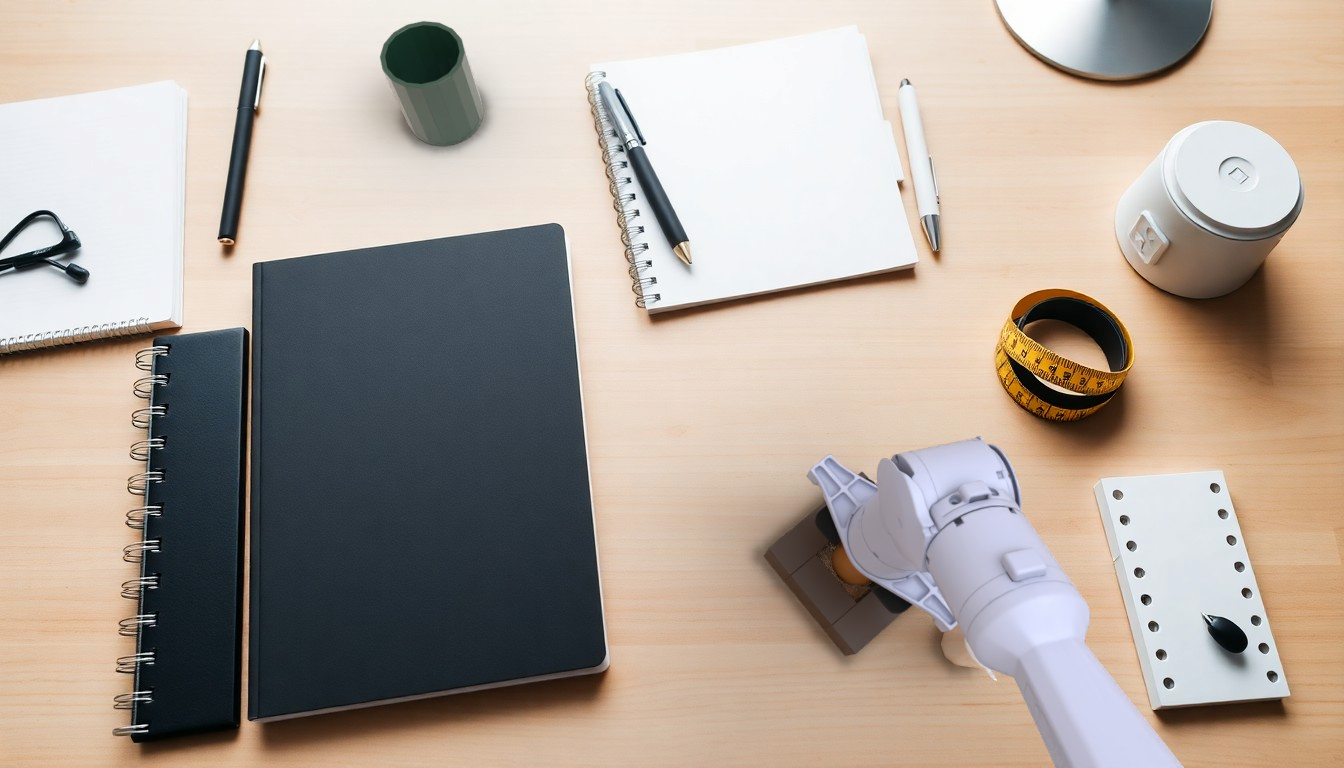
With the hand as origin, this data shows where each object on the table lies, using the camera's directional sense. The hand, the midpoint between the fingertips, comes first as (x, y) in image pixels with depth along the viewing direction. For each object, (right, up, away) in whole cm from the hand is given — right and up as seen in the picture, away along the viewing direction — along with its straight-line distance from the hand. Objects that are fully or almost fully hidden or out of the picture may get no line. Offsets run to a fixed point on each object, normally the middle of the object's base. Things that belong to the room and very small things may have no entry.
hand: (860, 558), depth 68 cm
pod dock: (0, -2, +4) cm, 4 cm away
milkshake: (+9, -8, +2) cm, 12 cm away
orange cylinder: (0, -1, +2) cm, 2 cm away
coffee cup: (-39, +43, +21) cm, 62 cm away
